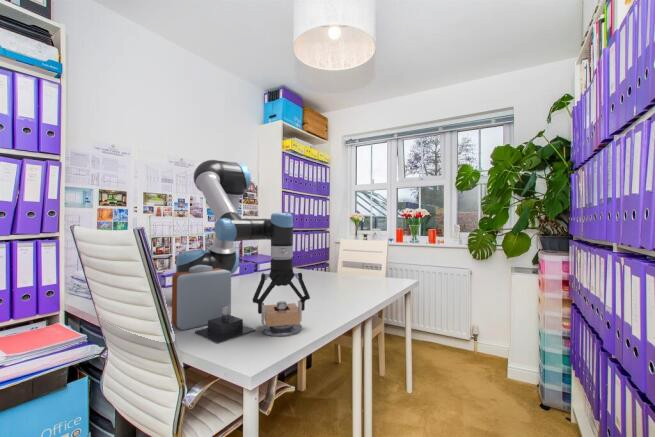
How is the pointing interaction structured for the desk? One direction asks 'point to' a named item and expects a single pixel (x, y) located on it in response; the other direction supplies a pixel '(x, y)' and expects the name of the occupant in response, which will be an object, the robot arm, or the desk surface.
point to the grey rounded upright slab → (199, 296)
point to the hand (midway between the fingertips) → (281, 321)
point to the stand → (224, 327)
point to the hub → (281, 330)
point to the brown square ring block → (281, 315)
